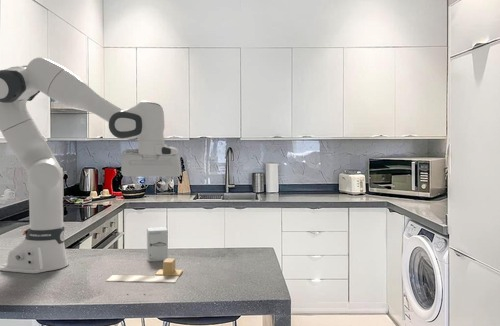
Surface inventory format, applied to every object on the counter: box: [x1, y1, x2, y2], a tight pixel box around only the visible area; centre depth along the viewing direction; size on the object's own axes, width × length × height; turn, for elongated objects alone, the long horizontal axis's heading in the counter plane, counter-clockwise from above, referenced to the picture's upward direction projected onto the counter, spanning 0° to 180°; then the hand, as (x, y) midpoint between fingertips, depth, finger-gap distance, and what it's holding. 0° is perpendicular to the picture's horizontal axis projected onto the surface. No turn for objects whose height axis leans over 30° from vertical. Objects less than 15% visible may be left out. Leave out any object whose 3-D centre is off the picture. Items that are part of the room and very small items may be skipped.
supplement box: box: [146, 226, 169, 262], centre depth 174 cm, size 7×7×13 cm
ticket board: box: [105, 274, 180, 284], centre depth 152 cm, size 24×13×2 cm, turn 87°
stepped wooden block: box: [154, 257, 184, 277], centre depth 155 cm, size 8×6×5 cm
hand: (151, 189), depth 158 cm, fingers open, 8 cm apart
